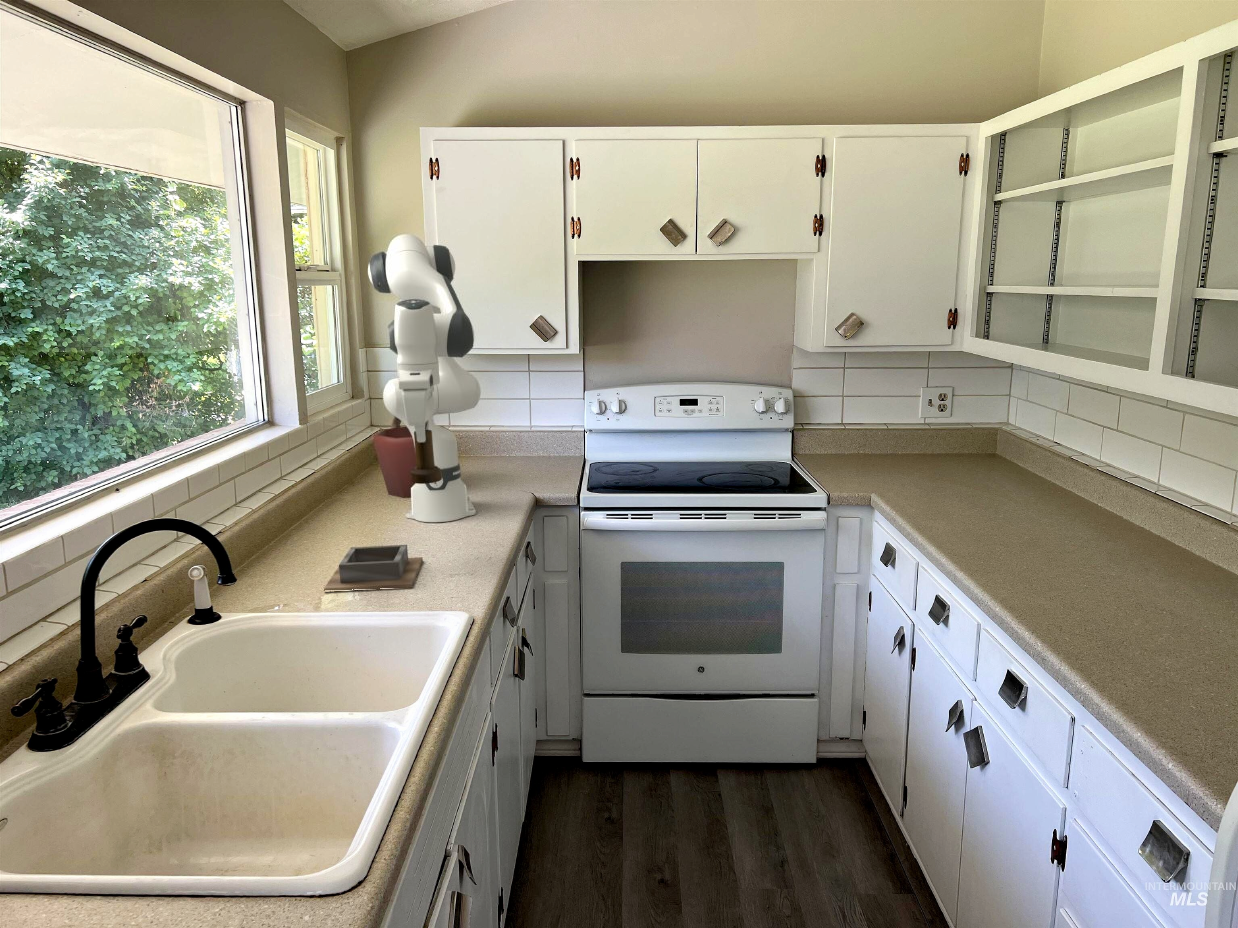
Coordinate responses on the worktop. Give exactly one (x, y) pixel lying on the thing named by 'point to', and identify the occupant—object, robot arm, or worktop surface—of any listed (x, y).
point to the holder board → (375, 569)
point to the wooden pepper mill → (425, 461)
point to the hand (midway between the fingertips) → (423, 439)
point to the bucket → (396, 458)
